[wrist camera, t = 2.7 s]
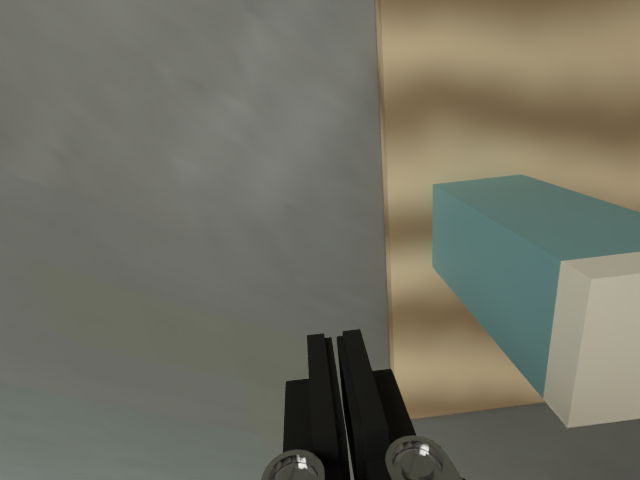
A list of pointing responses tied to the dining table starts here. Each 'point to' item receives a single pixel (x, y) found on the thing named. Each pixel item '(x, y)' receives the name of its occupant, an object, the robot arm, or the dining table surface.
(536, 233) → the teal block
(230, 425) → the dining table surface
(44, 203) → the dining table surface
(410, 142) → the oak board
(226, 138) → the dining table surface
